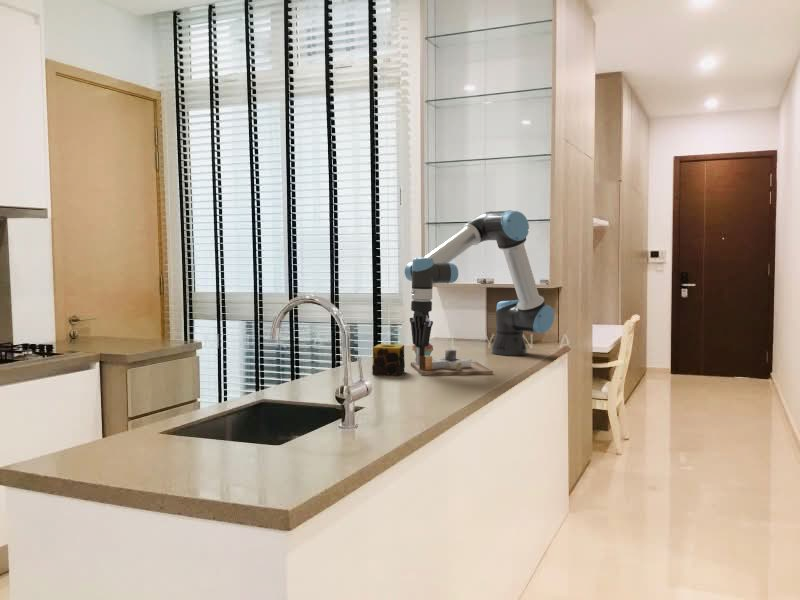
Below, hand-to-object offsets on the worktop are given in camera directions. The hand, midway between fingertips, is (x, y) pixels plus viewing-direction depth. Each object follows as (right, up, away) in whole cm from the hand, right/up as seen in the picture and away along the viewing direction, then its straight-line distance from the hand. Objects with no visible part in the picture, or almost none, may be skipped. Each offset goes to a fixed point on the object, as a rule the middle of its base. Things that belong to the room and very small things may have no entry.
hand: (419, 364), depth 264 cm
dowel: (+14, -2, -3) cm, 14 cm away
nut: (+8, -1, +2) cm, 9 cm away
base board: (+11, -2, +5) cm, 13 cm away
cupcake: (+2, -1, +31) cm, 31 cm away
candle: (-11, -3, -4) cm, 12 cm away
